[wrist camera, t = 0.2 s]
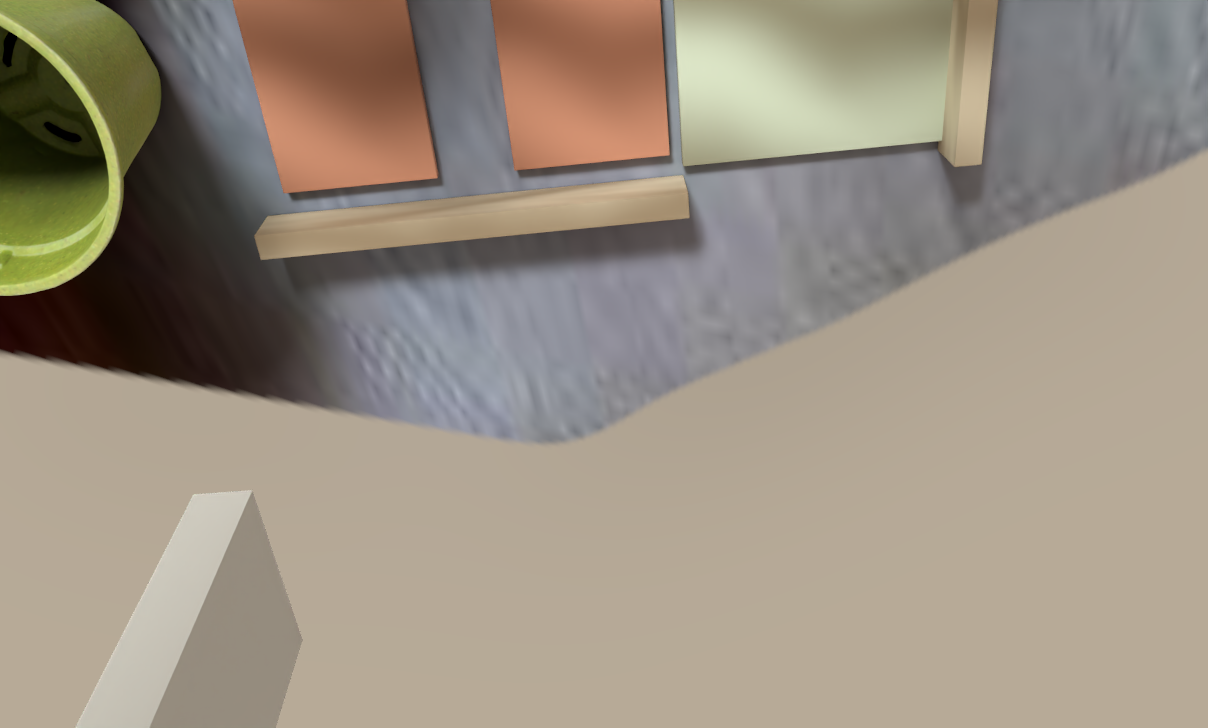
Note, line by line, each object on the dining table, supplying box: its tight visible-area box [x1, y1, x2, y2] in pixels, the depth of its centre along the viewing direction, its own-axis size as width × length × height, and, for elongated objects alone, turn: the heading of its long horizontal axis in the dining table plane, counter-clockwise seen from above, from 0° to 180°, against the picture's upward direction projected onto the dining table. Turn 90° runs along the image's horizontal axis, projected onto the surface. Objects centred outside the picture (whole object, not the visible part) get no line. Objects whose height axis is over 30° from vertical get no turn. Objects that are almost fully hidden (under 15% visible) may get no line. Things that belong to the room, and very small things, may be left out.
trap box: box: [233, 0, 998, 260], centre depth 36 cm, size 14×28×2 cm, turn 95°
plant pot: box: [0, 0, 161, 296], centre depth 33 cm, size 9×9×9 cm
